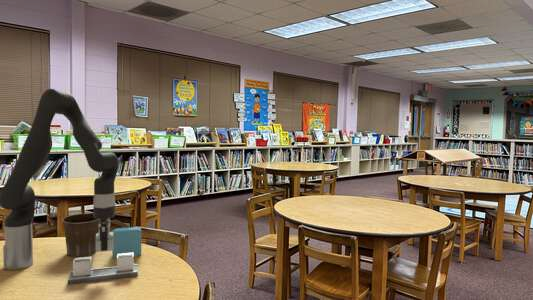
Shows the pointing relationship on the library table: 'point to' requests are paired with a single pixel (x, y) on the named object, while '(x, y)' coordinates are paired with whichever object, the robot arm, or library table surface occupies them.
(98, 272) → the rail
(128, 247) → the data package
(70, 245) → the plant pot
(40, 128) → the robot arm
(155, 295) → the library table surface
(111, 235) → the block
